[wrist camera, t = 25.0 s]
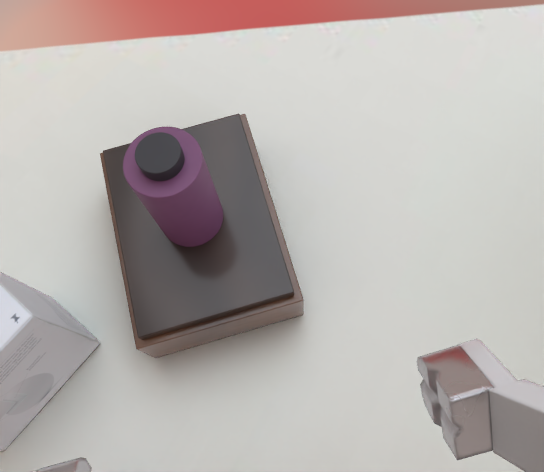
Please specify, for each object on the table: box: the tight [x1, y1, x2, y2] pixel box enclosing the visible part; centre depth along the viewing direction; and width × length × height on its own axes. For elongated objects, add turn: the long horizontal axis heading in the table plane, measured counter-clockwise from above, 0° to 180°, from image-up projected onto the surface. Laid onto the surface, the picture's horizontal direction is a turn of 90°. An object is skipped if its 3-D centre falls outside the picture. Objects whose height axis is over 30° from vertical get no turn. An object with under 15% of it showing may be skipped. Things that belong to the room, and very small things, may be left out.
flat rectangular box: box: [100, 114, 303, 358], centre depth 40 cm, size 12×16×6 cm
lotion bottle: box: [123, 127, 223, 247], centre depth 33 cm, size 5×5×10 cm
